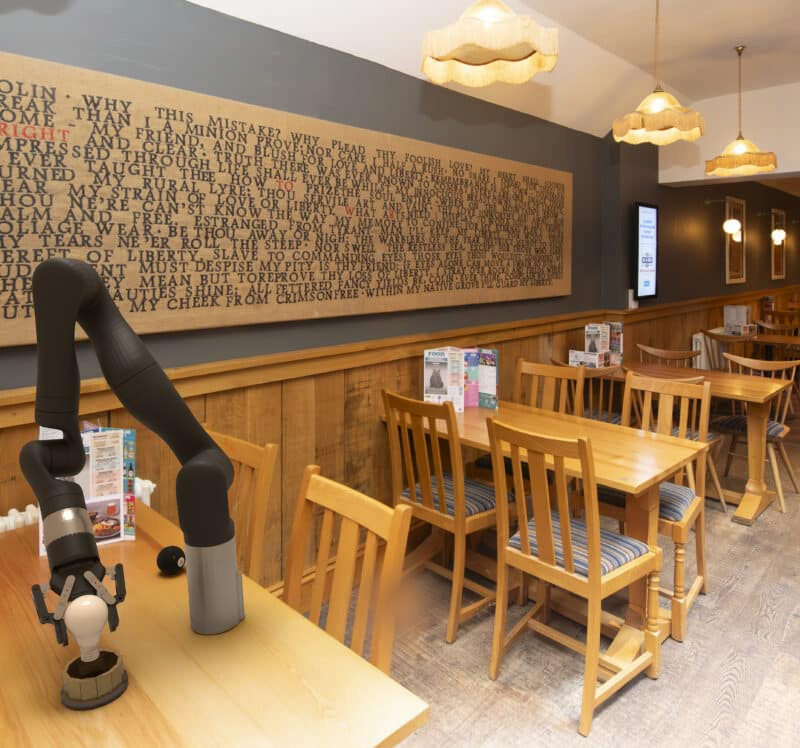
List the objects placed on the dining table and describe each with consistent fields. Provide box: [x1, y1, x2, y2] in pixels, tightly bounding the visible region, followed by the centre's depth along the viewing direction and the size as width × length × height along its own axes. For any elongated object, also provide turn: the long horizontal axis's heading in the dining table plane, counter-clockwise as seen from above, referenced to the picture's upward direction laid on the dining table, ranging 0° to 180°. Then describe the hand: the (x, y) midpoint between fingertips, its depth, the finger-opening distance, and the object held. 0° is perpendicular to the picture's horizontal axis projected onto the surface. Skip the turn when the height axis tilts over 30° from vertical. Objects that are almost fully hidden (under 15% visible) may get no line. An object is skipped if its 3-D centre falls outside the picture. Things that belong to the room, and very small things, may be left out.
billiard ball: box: [156, 545, 186, 575], centre depth 146 cm, size 6×6×6 cm
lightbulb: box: [63, 595, 108, 662], centre depth 105 cm, size 6×6×11 cm
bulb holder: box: [59, 648, 130, 711], centre depth 106 cm, size 10×10×4 cm
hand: (90, 637), depth 103 cm, fingers closed on lightbulb, 6 cm apart
